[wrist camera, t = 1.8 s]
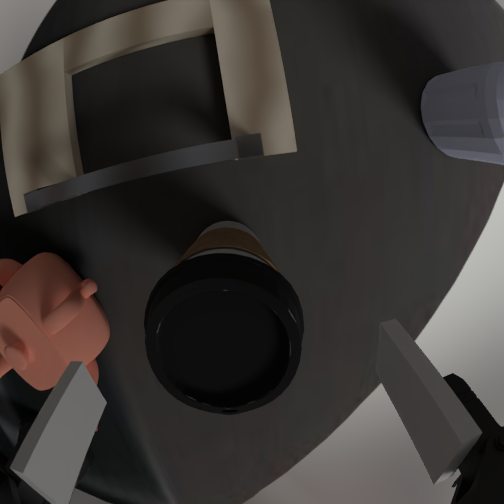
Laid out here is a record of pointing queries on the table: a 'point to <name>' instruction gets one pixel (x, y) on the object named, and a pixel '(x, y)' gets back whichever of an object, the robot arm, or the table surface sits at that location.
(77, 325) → the teapot
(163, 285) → the coffee cup
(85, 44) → the cream rectangular frame
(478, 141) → the spray bottle
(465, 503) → the robot arm
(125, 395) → the table surface
